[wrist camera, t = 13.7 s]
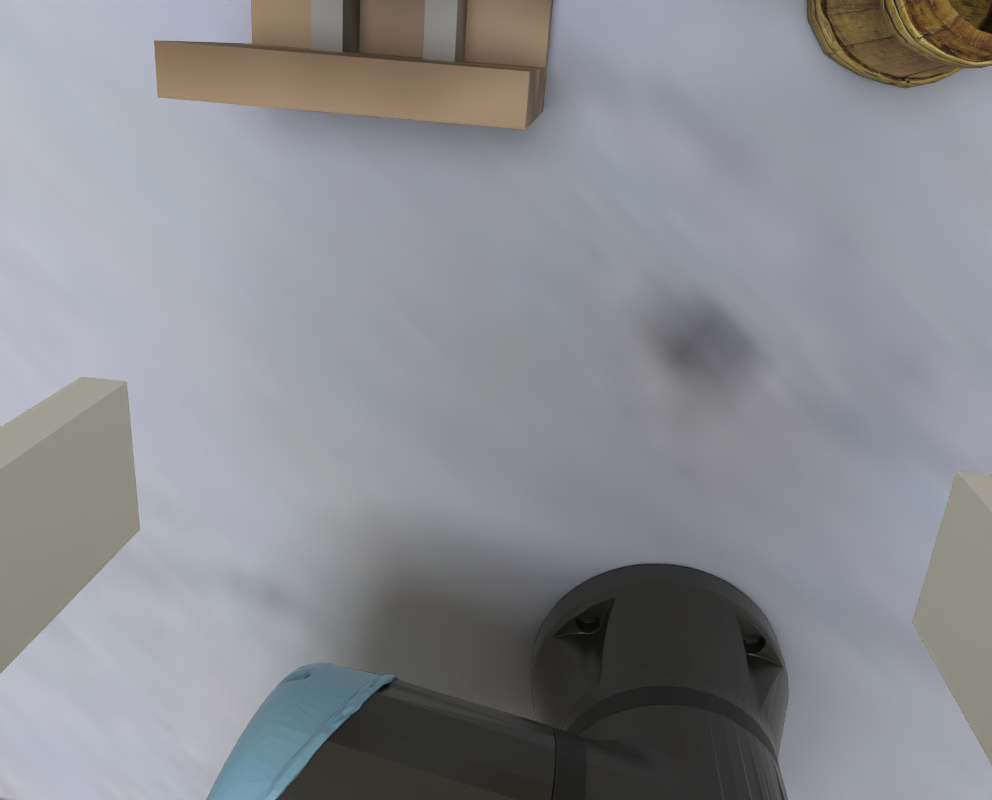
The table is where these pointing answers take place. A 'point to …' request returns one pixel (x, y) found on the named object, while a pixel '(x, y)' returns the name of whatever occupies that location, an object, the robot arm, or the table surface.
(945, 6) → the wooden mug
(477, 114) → the wooden rack
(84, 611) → the table surface
